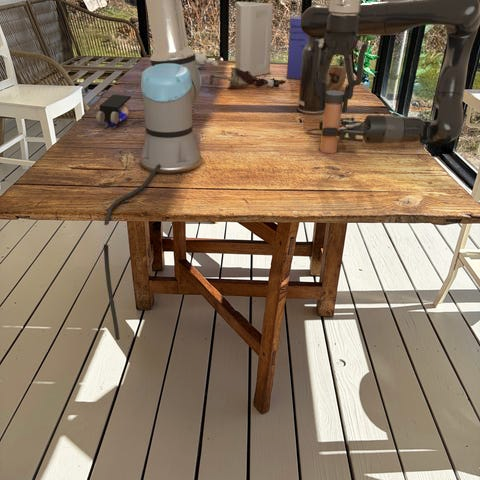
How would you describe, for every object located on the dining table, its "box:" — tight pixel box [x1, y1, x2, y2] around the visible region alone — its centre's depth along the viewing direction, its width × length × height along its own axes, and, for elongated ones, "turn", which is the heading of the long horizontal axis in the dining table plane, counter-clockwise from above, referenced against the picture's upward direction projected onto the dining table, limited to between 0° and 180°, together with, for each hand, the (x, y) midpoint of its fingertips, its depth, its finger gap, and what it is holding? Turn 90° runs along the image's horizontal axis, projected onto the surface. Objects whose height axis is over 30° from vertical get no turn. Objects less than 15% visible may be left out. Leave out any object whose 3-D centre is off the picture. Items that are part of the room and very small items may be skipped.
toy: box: [195, 51, 219, 69], centre depth 223 cm, size 24×25×7 cm
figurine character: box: [95, 94, 132, 130], centre depth 148 cm, size 7×8×15 cm
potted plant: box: [327, 58, 347, 91], centre depth 191 cm, size 13×9×15 cm
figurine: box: [209, 66, 287, 89], centre depth 190 cm, size 24×8×30 cm
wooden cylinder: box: [319, 102, 343, 154], centre depth 129 cm, size 5×5×15 cm
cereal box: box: [286, 16, 309, 80], centre depth 203 cm, size 17×5×24 cm, turn 86°
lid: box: [324, 89, 345, 103], centre depth 125 cm, size 6×6×2 cm
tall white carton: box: [234, 1, 274, 77], centre depth 210 cm, size 19×15×28 cm
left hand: (332, 109), depth 127 cm, fingers closed on lid, 5 cm apart
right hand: (321, 128), depth 130 cm, fingers closed on wooden cylinder, 4 cm apart
